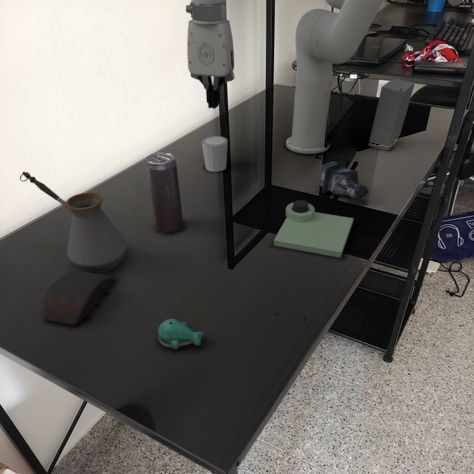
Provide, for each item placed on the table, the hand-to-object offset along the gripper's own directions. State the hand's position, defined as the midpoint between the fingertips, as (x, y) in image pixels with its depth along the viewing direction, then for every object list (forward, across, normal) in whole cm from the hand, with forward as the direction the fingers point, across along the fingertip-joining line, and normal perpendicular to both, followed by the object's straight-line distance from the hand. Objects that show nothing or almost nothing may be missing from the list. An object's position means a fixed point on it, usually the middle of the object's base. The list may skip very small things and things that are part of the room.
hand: (213, 106), depth 106 cm
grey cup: (+15, 0, 0) cm, 15 cm away
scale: (+15, +32, -25) cm, 44 cm away
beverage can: (+15, +1, -32) cm, 35 cm away
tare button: (+12, +28, -21) cm, 37 cm away
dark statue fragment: (+15, +35, -5) cm, 38 cm away
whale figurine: (+15, +19, -64) cm, 68 cm away
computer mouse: (+15, -3, -60) cm, 62 cm away
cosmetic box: (+15, +41, +30) cm, 53 cm away
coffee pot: (+15, -11, -47) cm, 51 cm away
